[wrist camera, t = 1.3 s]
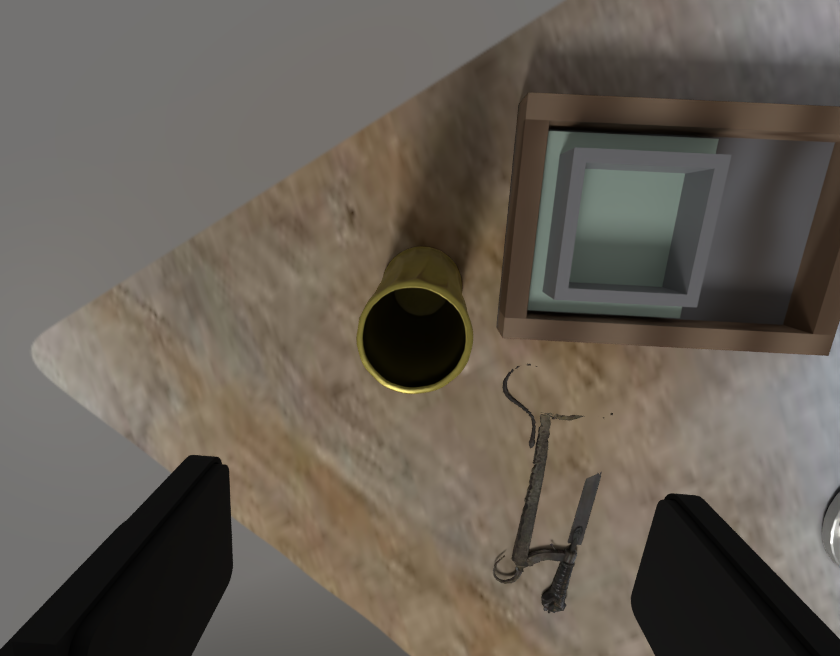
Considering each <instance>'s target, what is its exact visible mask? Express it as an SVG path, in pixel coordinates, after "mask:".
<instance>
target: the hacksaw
mask: <svg viewBox="0 0 840 656" xmlns="http://www.w3.org/2000/svg"><path fill="white" fill-rule="evenodd" d="M528 365H531V364H528ZM518 367H519V366H517V367H516V369H517V368H518ZM536 367H537V366H536ZM513 371H514V370H513V369H512V370H511V372H509V373H508V374H507V376H506V377H505V379H504V381H503V392H504V394H505V395H506V397H507V398H508V399H509V400H510V401H512V402H514V403H515V404H516V405H518V406H519V407H521V408H522V409H523V410H524V411H526V413H528V414H529V416H530V417H531V420H532V426H533V427H532V434H531V438H530V441H529V446H530V448H532V447H533V446H534V444H535V440H534V439H535V427H536V426H535V423H536V422H535V420H534V416H533V415H532V414H531V412H529V411H528V409H527V408H525V407H524V406H523V405H522V404H521V403H520V402H518V401H517V400H516V399H514V398H513V397H512V396H511V395H510V394H509V393H508V389H507V380H508V377H509V376H510V374H511V373H512V372H513ZM545 414H547V415H543V414H541V415H540V422H541V426H540V427H539V431H538V432H539V434H538V438H537V442H536V447H535V453H534V460H533V461H534V462H533V464H535V465H534V467H533V468H532V473H531V476H530V481H529V483H530V485H529V487H528V489H527V495H526V498H525V506H524V508H523V513H522V515H521V521H520V524H519V529H518V534H517V538H516V541H515V546H514V550H513V555H512V560H513V561H514V562H515V564H516V570H517V572H516V574H515V575H514V577H513V578H511V579H507V580H501V579H499V578H498V577H497V576H496V574H495V567H496V565H497V563H498V562H499V561H500V560H501V559H502V558H504V557H505V555H504V556H503V557H502V558H501V559H499V560H498V561H497V562H496V564H495V565H494V569H493V574H494V577H495V578H496V580H497V581H499V582H501V583H505V584H506V583H513V582H515V581H516V580H517V579H518V578H519V577H520V575H521V573H522V572H524V571H523V568H525V567H527V566H533V564H535V563H538V562H540V561H544V560H553V561H561V563H560V565H559V567H558V570H557V573H556V575H555V578H554V580H553V584H552V585H551V587H550V588H549V589H548V590H547V591H546V592H545V593H544V594H543V595H542V597H541V599H542V605H543V606H544V611H547V610H548V613H550V611H551V612H553V613H555V612H558V611H564V609H565V607H566V604H565V601H564V600H565V596H566V592H567V591H566V590H567V588H568V584H569V579H570V576H571V572H572V569H573V567H574V565H575V563H574V561H575V559H576V556H577V551H576V550H575V548H576V545H581V544H582V540H583V538H584V534H585V530H586V528H587V527H586V526H587V524H588V523H587V522H588V520H589V516H590V514H591V513H590V512H591V510H592V506H593V502H594V499H595V495H596V491H597V489H598V488H597V487H598V485H599V481H600V478H601V472H602V471H601V472H600V475H599V473H598V474H596V475H594V476H592V477H589V478H587V479H586V481H585V484H584V488H583V491H582V495H581V498H580V501H579V505H578V508H577V512H576V515H575V519H574V522H573V525H572V529H571V532H570V536H569V540H568V543H571V545H570V547H569V549H566V548H565V549H564V551H563V550H556V549H555V548H554V547H553V544H550V545H551V546H552V547H553V548H554V549H555V550H549V549H544V550H539V551H535V552H532V553H529V554H528V551H529V546H530V542H531V537H532V531H533V527H534V522H535V517H536V511H537V506H538V501H539V497H540V492H541V487H542V482H543V477H544V471H545V465H546V459H547V451H548V438H549V435H550V433H549V428H550V424H551V423H550V417H552V419H555V418H556V419H557V418H558V419H559V420H560V419H561V420H574V419H577V418H580V417H584V416H579V415H571V416H564V415H562V416H561V415H558V414H556V415H554V417H553V416H550V415H549V414H551V415H553V414H552V413H549V414H548V413H545ZM611 415H613V413H611ZM603 418H604V417H603Z"/></svg>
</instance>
